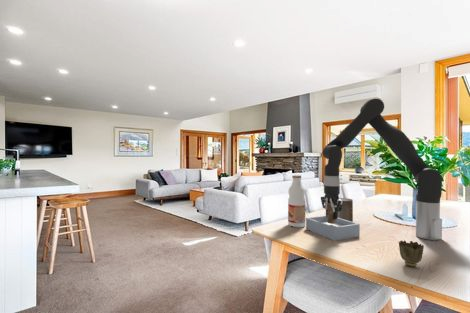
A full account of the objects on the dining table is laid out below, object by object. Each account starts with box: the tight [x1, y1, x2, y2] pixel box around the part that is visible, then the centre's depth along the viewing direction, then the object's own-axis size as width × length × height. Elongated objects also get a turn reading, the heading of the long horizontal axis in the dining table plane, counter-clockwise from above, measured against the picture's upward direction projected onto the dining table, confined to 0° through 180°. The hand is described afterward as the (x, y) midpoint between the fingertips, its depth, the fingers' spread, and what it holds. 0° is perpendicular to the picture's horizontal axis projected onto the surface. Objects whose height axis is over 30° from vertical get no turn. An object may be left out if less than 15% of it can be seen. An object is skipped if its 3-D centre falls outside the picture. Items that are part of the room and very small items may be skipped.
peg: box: [327, 203, 336, 224], centre depth 131 cm, size 4×4×10 cm
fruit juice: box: [287, 174, 306, 228], centre depth 144 cm, size 9×9×28 cm
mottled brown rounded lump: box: [398, 239, 425, 268], centre depth 92 cm, size 8×7×8 cm
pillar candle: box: [338, 197, 354, 222], centre depth 150 cm, size 10×10×15 cm
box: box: [305, 215, 361, 242], centre depth 131 cm, size 20×16×6 cm
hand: (331, 218), depth 131 cm, fingers closed on peg, 4 cm apart
